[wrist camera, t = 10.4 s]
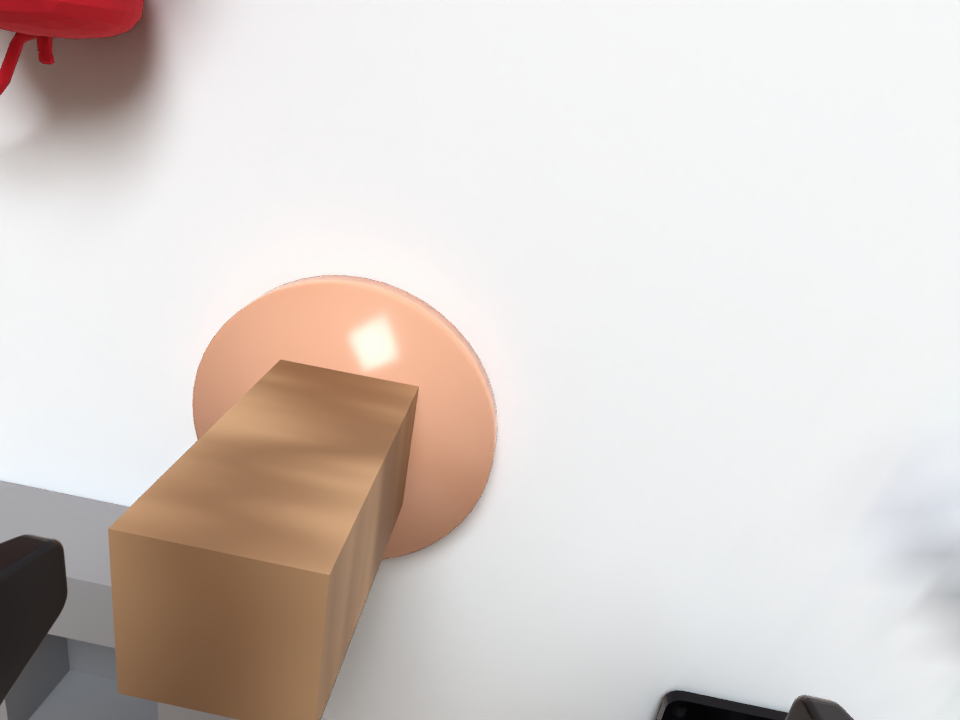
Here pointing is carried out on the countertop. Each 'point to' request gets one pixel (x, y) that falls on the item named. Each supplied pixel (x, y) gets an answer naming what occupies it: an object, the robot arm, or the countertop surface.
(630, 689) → the countertop surface
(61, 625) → the pocket holder
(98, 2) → the alarm clock
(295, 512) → the walnut block
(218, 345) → the terracotta plate
